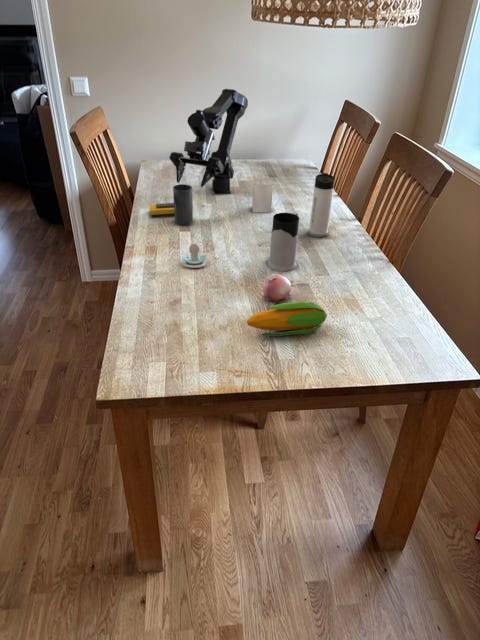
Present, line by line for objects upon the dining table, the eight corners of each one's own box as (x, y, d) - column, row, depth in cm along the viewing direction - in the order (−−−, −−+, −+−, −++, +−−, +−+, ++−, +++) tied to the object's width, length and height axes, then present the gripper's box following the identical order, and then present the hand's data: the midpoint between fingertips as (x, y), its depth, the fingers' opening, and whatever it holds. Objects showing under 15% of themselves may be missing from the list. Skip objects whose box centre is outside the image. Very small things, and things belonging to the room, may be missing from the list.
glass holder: (263, 266, 148) (266, 219, 140) (280, 248, 159) (284, 203, 151) (290, 273, 145) (295, 226, 137) (306, 254, 156) (311, 209, 148)
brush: (182, 210, 183) (182, 200, 181) (184, 215, 178) (184, 206, 176) (150, 212, 180) (149, 202, 178) (151, 217, 176) (150, 208, 174)
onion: (262, 290, 137) (263, 267, 133) (290, 291, 137) (292, 268, 133) (262, 306, 130) (263, 282, 126) (291, 307, 130) (294, 283, 126)
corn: (333, 309, 116) (250, 316, 112) (329, 336, 120) (249, 344, 116) (322, 294, 122) (243, 300, 119) (319, 320, 126) (243, 327, 122)
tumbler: (191, 218, 177) (190, 183, 170) (194, 225, 172) (193, 190, 165) (173, 219, 176) (172, 184, 169) (175, 226, 171) (174, 191, 164)
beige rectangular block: (271, 212, 183) (272, 186, 178) (252, 212, 183) (254, 186, 177) (269, 208, 186) (271, 182, 181) (252, 208, 186) (253, 182, 180)
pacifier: (206, 269, 146) (206, 259, 151) (206, 250, 142) (206, 241, 147) (181, 269, 146) (182, 259, 150) (181, 250, 142) (181, 241, 147)
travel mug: (326, 230, 172) (334, 173, 160) (327, 238, 166) (335, 179, 155) (308, 229, 172) (315, 172, 161) (309, 237, 167) (315, 178, 155)
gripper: (170, 127, 169) (156, 168, 166) (220, 134, 163) (207, 176, 161) (181, 145, 179) (168, 184, 177) (229, 152, 174) (216, 192, 171)
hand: (189, 184), depth 171 cm, fingers open, 9 cm apart
